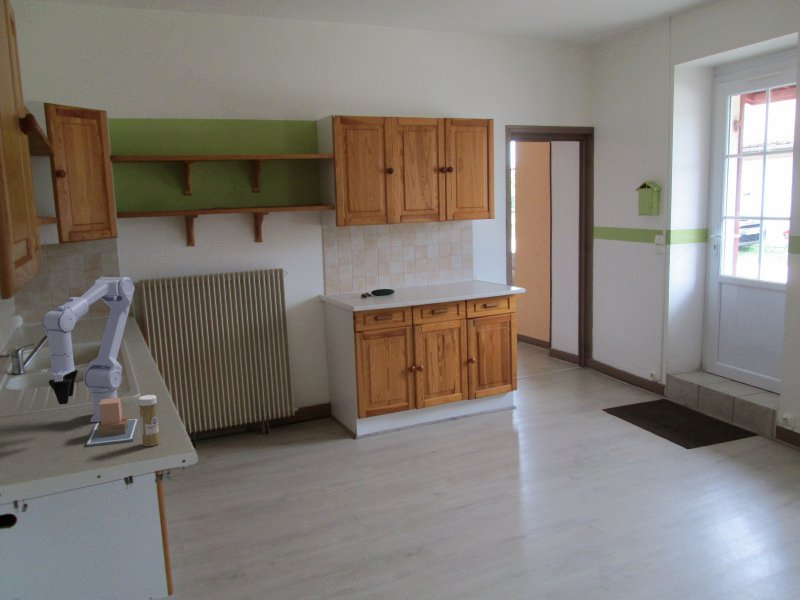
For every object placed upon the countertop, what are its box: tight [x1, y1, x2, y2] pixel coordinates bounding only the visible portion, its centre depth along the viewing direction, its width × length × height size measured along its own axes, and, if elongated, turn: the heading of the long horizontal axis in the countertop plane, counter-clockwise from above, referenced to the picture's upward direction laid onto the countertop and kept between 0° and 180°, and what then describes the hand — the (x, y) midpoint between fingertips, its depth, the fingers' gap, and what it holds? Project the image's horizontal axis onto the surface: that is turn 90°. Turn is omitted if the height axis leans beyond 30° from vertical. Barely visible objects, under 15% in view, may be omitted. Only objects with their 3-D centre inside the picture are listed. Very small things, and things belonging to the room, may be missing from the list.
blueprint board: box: [85, 418, 140, 448], centre depth 189 cm, size 18×12×1 cm, turn 17°
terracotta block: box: [99, 397, 123, 425], centre depth 188 cm, size 5×5×6 cm
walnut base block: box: [98, 415, 129, 437], centre depth 189 cm, size 7×7×3 cm
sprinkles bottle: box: [138, 394, 161, 447], centre depth 179 cm, size 5×5×13 cm
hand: (66, 399), depth 187 cm, fingers open, 7 cm apart
